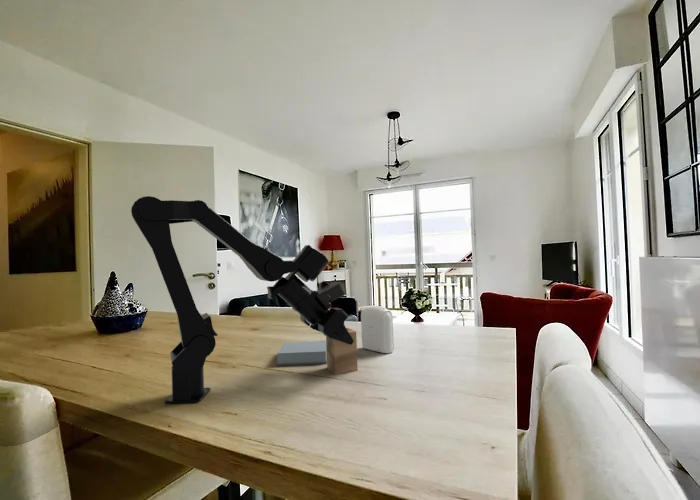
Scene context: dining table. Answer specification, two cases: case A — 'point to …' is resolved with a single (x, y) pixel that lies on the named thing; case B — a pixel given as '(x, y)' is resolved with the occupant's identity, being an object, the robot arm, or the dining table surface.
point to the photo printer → (377, 329)
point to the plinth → (302, 353)
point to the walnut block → (342, 354)
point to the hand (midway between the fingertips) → (346, 340)
